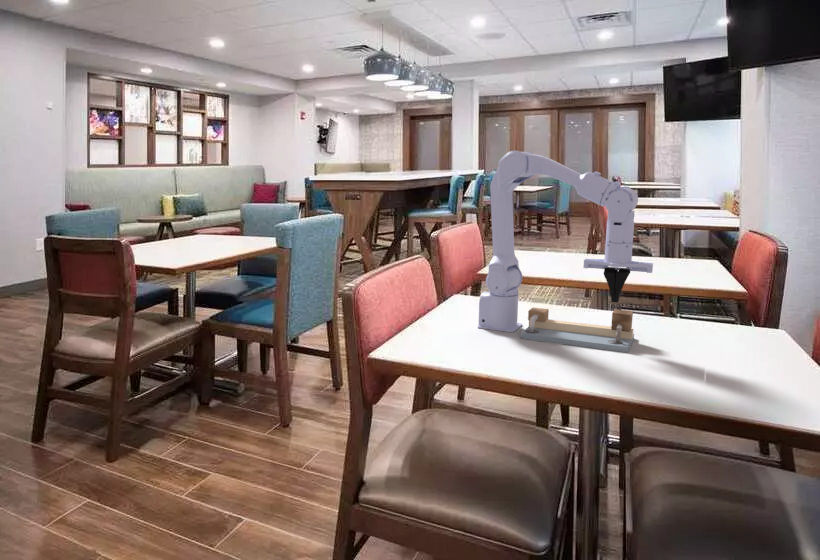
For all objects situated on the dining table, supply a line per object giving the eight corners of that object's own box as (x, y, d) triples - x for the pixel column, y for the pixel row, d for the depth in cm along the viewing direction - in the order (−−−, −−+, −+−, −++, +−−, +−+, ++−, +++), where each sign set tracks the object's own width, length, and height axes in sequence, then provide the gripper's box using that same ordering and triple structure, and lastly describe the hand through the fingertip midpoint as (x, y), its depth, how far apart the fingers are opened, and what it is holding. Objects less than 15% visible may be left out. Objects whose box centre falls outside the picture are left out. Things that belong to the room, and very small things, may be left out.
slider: (608, 340, 129) (609, 316, 128) (613, 332, 136) (614, 309, 135) (627, 343, 127) (628, 318, 126) (631, 334, 134) (632, 311, 133)
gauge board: (520, 338, 136) (521, 316, 135) (534, 326, 146) (534, 305, 145) (627, 352, 125) (629, 328, 124) (633, 338, 136) (635, 316, 135)
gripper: (582, 242, 127) (579, 301, 130) (652, 245, 121) (647, 308, 123) (588, 238, 133) (584, 295, 136) (655, 242, 127) (650, 302, 129)
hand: (615, 301), depth 130 cm, fingers closed
